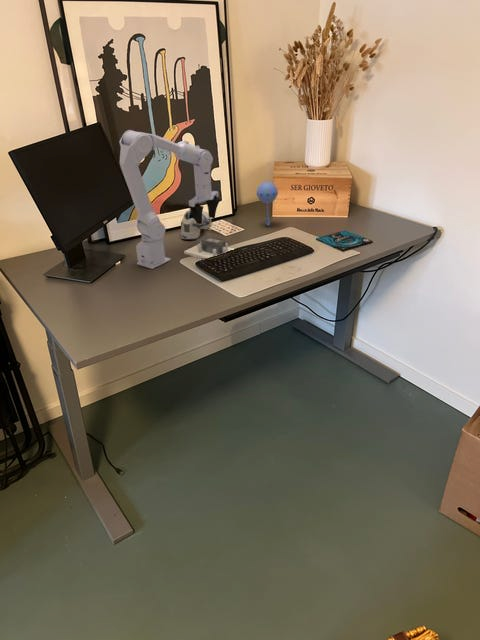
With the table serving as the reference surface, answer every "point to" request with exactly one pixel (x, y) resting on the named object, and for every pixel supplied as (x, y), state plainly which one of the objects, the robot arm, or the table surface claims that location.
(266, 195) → the baby rattle
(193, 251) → the pegged base plate
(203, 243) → the block
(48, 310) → the table surface
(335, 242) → the guitar string package
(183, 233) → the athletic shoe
